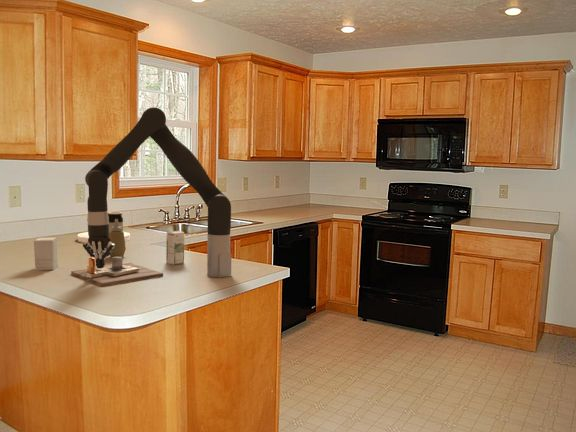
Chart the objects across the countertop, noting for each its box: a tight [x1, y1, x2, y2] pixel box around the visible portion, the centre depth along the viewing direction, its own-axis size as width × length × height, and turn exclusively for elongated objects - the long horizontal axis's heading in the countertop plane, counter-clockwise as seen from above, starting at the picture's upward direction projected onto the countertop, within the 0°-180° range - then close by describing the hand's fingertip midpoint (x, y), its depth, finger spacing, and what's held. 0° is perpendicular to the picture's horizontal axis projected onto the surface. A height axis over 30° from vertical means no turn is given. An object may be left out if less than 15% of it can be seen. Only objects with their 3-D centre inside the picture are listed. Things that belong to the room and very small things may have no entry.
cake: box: [77, 231, 131, 244], centre depth 293 cm, size 28×28×10 cm
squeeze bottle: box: [109, 219, 126, 258], centre depth 244 cm, size 8×8×18 cm
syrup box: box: [165, 230, 185, 265], centre depth 234 cm, size 6×6×14 cm
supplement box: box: [33, 237, 59, 271], centre depth 217 cm, size 7×7×13 cm
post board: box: [70, 257, 164, 288], centre depth 209 cm, size 26×26×7 cm
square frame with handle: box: [86, 257, 139, 278], centre depth 206 cm, size 19×12×7 cm, turn 145°
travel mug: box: [108, 211, 124, 233], centre depth 272 cm, size 8×8×18 cm
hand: (100, 268), depth 198 cm, fingers closed
